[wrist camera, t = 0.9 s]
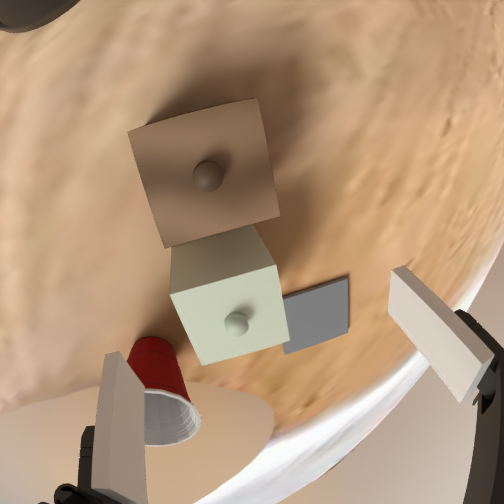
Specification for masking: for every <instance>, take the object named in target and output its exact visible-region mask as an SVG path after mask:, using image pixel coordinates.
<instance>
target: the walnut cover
mask: <svg viewBox="0 0 504 504" xmlns="http://www.w3.org/2000/svg"><path fill="white" fill-rule="evenodd" d="M128 136H129V139H130V143H131V147H132V150H133V153H134V157H135V160H136V164H137V167H138V170H139V173H140V177H141V180H142V183H143V186H144V189H145V192H146V196H147V199H148V202H149V205H150V208H151V211H152V214H153V217H154V220H155V222H156V225H157V228H158V231H159V234H160V237H161V239H162V242H163V245H164V248H165V249H166V248H169V247H172V246H176V245H179V244H183V243H186V242H190V241H193V240H197V239H200V238H204V237H207V236H211V235H214V234H218V233H221V232H225V231H228V230H232V229H236V228H239V227H243V226H247V225H250V224H254V223H258V222H261V221H265V220H269V219H272V218H276V217H280V211H279V206H278V200H277V195H276V189H275V184H274V178H273V173H272V168H271V162H270V157H269V152H268V147H267V142H266V137H265V132H264V127H263V122H262V117H261V112H260V107H259V102H258V98H252V99H246V100H240V101H235V102H230V103H225V104H221V105H217V106H212V107H208V108H204V109H200V110H196V111H192V112H189V113H185V114H181V115H178V116H174V117H171V118H167V119H164V120H161V121H157V122H154V123H151V124H148V125H145V126H142V127H139V128H137V129H134V130H131V131H129V132H128Z"/></svg>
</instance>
